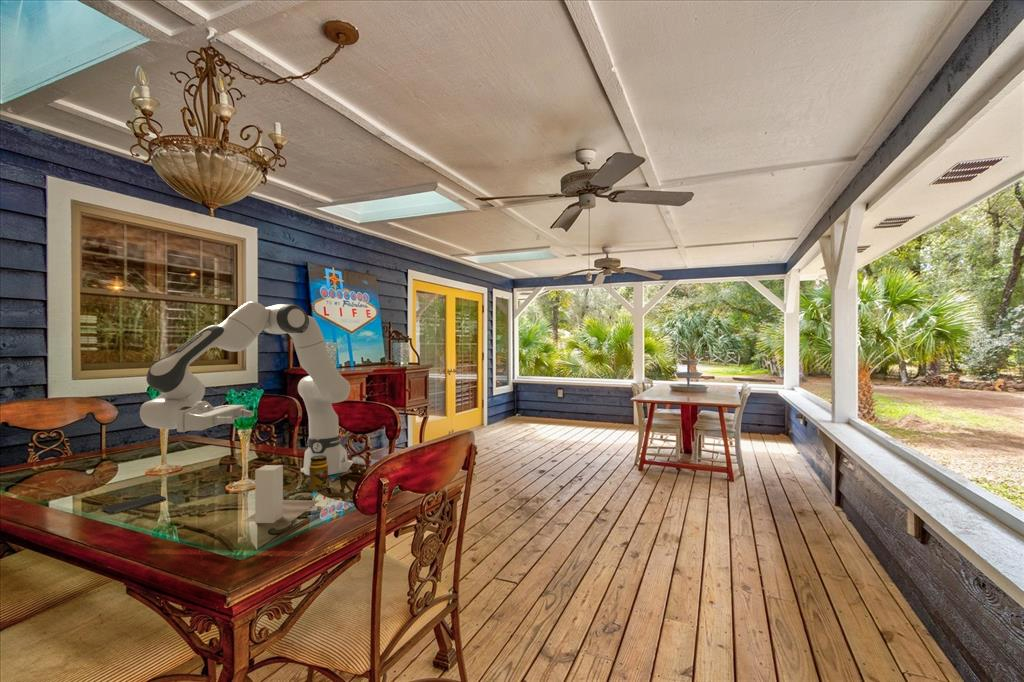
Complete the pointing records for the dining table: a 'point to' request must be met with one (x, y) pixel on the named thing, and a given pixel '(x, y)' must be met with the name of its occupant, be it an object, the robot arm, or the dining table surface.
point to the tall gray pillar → (268, 493)
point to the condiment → (318, 473)
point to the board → (291, 509)
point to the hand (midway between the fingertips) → (242, 416)
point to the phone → (133, 503)
